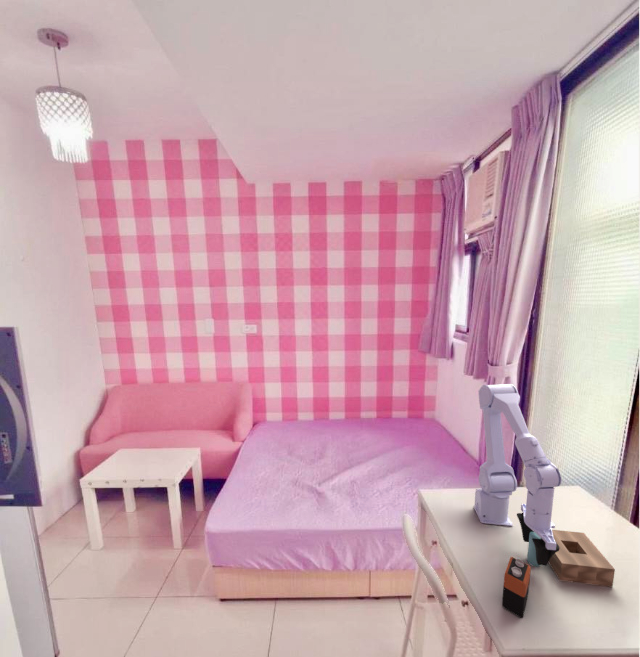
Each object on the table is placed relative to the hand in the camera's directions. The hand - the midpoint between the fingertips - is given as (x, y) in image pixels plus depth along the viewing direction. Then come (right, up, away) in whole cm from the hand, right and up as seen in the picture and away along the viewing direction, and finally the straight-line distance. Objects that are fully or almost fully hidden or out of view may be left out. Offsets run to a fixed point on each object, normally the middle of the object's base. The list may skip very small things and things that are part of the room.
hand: (534, 552), depth 88 cm
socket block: (+10, -3, 0) cm, 10 cm away
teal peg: (0, -3, 0) cm, 3 cm away
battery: (-12, -5, -11) cm, 17 cm away
